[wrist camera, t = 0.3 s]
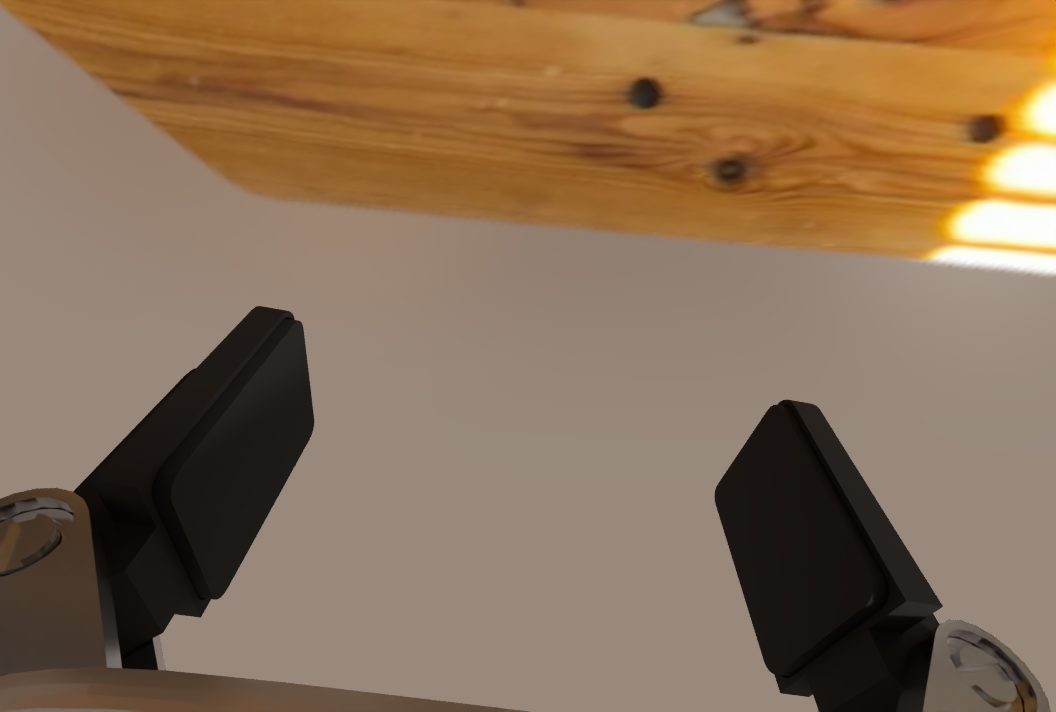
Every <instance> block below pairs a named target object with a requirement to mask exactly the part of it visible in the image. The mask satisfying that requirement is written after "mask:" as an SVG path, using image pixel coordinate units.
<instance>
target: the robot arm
mask: <svg viewBox="0 0 1056 712" xmlns="http://www.w3.org/2000/svg"><path fill="white" fill-rule="evenodd" d="M313 427H314V415H313V407H312V398H311V389H310V381H309V372H308V364H307V355H306V347H305V339H304V330H303V325H302V323H301V322H300V321H297V320H294V316H293V314H292V313H291V312H289V311H285V310H279V309H273V308H268V307H262V306H257V307H255V308H254V309H252V310H251V311H250V312H249V314H248V315H247V316H246V317H245V318H244V319H243V320H242V321H241V322H240V323H239V324H238V325H237V326H236V327H235V328H234V329H233V330H232V331H231V332H230V334H229V335H228V336H227V337H226V338H225V339H224V340H223V341H222V342H221V343H220V344H219V345H218V346H217V347H216V348H215V349H214V351H213V352H211V353H210V355H209V356H208V357H207V358H206V359H205V360H204V361H203V362H202V363H201V364H200V365H199V366H198V367H197V368H196V369H193V370H191V371H190V372H189V373H188V374H186V375H185V376H184V377H183V378H182V379H181V380H180V381H179V382H178V384H176V385H175V387H174V388H173V389H172V390H171V391H170V392H169V393H168V394H167V395H166V396H165V397H164V398H163V399H162V400H161V401H160V402H159V403H158V404H157V405H156V406H155V407H154V408H153V409H152V410H151V411H150V413H148V415H147V416H146V417H145V418H144V419H143V420H142V421H141V422H140V423H139V424H138V425H137V426H136V427H135V428H134V429H133V430H132V431H131V432H130V433H129V434H128V435H127V437H125V438H124V439H123V441H122V442H121V443H120V444H119V445H118V446H117V447H116V448H115V449H114V450H113V451H112V452H111V453H110V454H109V455H108V456H107V457H106V458H105V459H104V460H103V461H102V462H101V463H100V464H99V465H98V466H97V467H96V469H95V470H94V471H93V472H92V473H91V474H90V475H89V476H88V477H87V478H86V479H85V480H84V481H83V482H82V483H81V484H80V485H79V486H78V487H77V488H76V489H75V490H74V491H73V492H72V491H68V490H63V489H59V488H41V489H32V490H28V491H24V492H19V493H14V494H11V495H9V496H6V497H4V498H1V499H0V712H528V711H520V710H511V709H503V708H496V707H487V706H479V705H471V704H462V703H454V702H446V701H437V700H429V699H421V698H411V697H403V696H395V695H387V694H378V693H369V692H361V691H353V690H344V689H335V688H327V687H319V686H310V685H302V684H293V683H285V682H274V681H265V680H255V679H245V678H234V677H225V676H215V675H205V674H195V673H194V674H193V673H184V672H175V671H166V668H165V663H164V658H163V652H162V647H161V642H160V636H159V635H160V634H161V633H163V632H164V630H165V629H166V627H167V625H168V624H169V622H170V620H171V619H172V617H173V616H174V614H179V615H186V616H194V617H201V616H202V614H203V613H204V611H205V609H206V607H207V605H208V604H209V602H210V600H211V599H219V598H220V597H221V596H222V595H223V594H224V593H225V591H226V590H227V588H228V587H229V585H230V583H231V581H232V579H233V577H234V576H235V574H236V572H237V570H238V568H239V567H240V564H241V563H242V561H243V559H244V557H245V555H246V554H247V552H248V550H249V548H250V546H251V545H252V543H253V541H254V539H255V537H256V535H257V534H258V532H259V530H260V528H261V526H262V524H263V523H264V521H265V519H266V517H267V516H268V514H269V512H270V510H271V508H272V507H273V505H274V503H275V501H276V499H277V497H278V496H279V494H280V492H281V490H282V488H283V486H284V485H285V483H286V481H287V479H288V477H289V476H290V474H291V472H292V470H293V468H294V466H295V465H296V463H297V461H298V459H299V457H300V456H301V454H302V452H303V450H304V448H305V447H306V445H307V443H308V441H309V439H310V437H311V435H312V431H313ZM715 503H716V507H717V510H718V513H719V516H720V520H721V523H722V526H723V529H724V533H725V536H726V539H727V542H728V545H729V548H730V552H731V555H732V559H733V562H734V565H735V568H736V572H737V575H738V578H739V581H740V584H741V588H742V591H743V594H744V598H745V601H746V604H747V607H748V610H749V614H750V617H751V620H752V624H753V627H754V630H755V633H756V636H757V640H758V643H759V646H760V649H761V652H762V656H763V659H764V662H765V664H766V666H767V668H768V670H769V671H770V672H771V673H773V674H775V678H776V681H777V684H778V687H779V690H780V693H783V694H791V695H799V696H806V697H809V696H811V695H812V694H813V695H814V698H815V701H816V704H817V707H818V712H1051V711H1050V706H1049V702H1048V699H1047V697H1046V695H1045V693H1044V691H1043V689H1042V687H1041V685H1040V683H1039V682H1038V680H1037V679H1036V678H1035V676H1034V675H1033V674H1032V672H1031V671H1030V670H1029V668H1028V667H1027V666H1026V664H1025V663H1024V662H1023V661H1022V660H1021V659H1020V658H1019V657H1018V656H1017V655H1016V654H1015V653H1014V652H1013V651H1012V650H1011V649H1010V648H1008V647H1007V646H1006V645H1004V644H1003V643H1002V642H1001V641H1000V640H998V639H997V638H996V637H994V636H993V635H992V634H989V633H988V632H986V631H985V630H983V629H981V628H979V627H978V626H976V625H973V624H970V623H967V622H964V621H962V620H947V621H945V622H943V623H941V624H939V623H938V621H937V620H936V618H935V616H934V614H933V613H934V612H936V611H937V610H938V609H940V608H941V607H943V606H942V604H941V603H940V601H939V600H938V598H937V596H936V595H935V593H934V592H933V590H932V588H931V587H930V585H929V583H928V582H927V580H926V579H925V577H924V575H923V574H922V573H921V571H920V569H919V567H918V566H917V564H916V563H915V561H914V559H913V558H912V556H911V555H910V553H909V551H908V550H907V548H906V547H905V545H904V544H903V542H902V540H901V539H900V537H899V535H898V534H897V532H896V531H895V529H894V527H893V526H892V524H891V523H890V521H889V519H888V518H887V516H886V515H885V513H884V511H883V510H882V509H881V507H880V505H879V503H878V502H877V500H876V499H875V497H874V495H873V494H872V492H871V491H870V489H869V487H868V486H867V484H866V483H865V481H864V479H863V478H862V476H861V475H860V473H859V471H858V470H857V469H856V467H855V465H854V463H853V462H852V460H851V459H850V457H849V455H848V454H847V452H846V451H845V449H844V447H843V446H842V444H841V443H840V441H839V439H838V438H837V436H836V435H835V433H834V431H833V430H832V428H831V427H830V425H829V423H828V422H827V420H826V419H825V417H824V415H823V414H822V412H821V411H820V409H819V408H818V407H817V406H815V405H813V404H809V403H804V402H798V401H792V400H783V401H781V402H779V404H778V405H773V406H771V407H770V408H769V409H768V411H767V412H766V414H765V415H764V417H763V418H762V419H761V421H760V423H759V424H758V426H757V427H756V428H755V430H754V431H753V433H752V434H751V436H750V437H749V439H748V440H747V442H746V443H745V445H744V446H743V448H742V449H741V451H740V452H739V454H738V455H737V457H736V458H735V460H734V461H733V463H732V464H731V466H730V467H729V469H728V470H727V471H726V473H725V474H724V476H723V477H722V479H721V481H720V482H719V484H718V485H717V487H716V490H715Z"/></svg>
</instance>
